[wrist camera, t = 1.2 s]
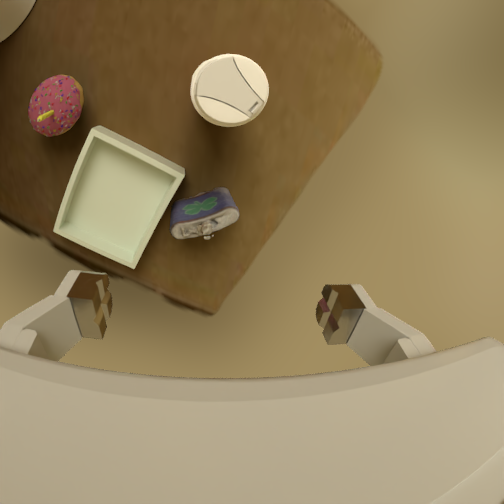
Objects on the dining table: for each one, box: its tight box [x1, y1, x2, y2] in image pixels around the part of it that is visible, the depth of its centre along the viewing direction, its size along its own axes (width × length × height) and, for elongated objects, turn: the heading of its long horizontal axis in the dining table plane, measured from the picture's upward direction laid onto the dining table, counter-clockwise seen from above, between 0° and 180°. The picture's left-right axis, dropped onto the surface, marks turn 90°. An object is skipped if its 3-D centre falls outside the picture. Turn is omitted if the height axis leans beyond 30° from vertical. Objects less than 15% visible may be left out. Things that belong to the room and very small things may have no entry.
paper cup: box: [191, 54, 269, 127], centre depth 28 cm, size 8×8×14 cm
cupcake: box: [28, 75, 84, 137], centre depth 24 cm, size 9×8×12 cm
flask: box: [169, 187, 239, 239], centre depth 38 cm, size 9×3×11 cm, turn 102°
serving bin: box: [53, 125, 185, 269], centre depth 37 cm, size 15×17×4 cm
